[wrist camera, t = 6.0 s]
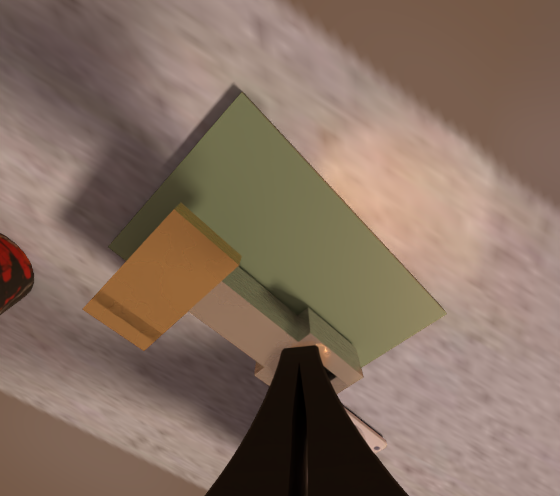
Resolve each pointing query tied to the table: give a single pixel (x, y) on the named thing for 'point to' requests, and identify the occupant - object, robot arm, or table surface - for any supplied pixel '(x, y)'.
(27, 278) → the deodorant
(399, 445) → the table surface
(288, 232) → the plate
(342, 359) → the beige rectangular block
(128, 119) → the table surface
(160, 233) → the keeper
